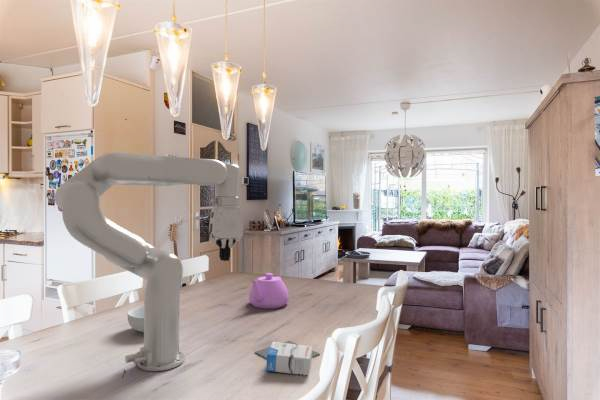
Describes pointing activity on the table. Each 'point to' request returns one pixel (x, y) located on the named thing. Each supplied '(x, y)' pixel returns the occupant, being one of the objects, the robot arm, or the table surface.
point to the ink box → (289, 358)
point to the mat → (265, 351)
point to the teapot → (268, 292)
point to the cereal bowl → (136, 318)
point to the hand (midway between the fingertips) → (224, 260)
